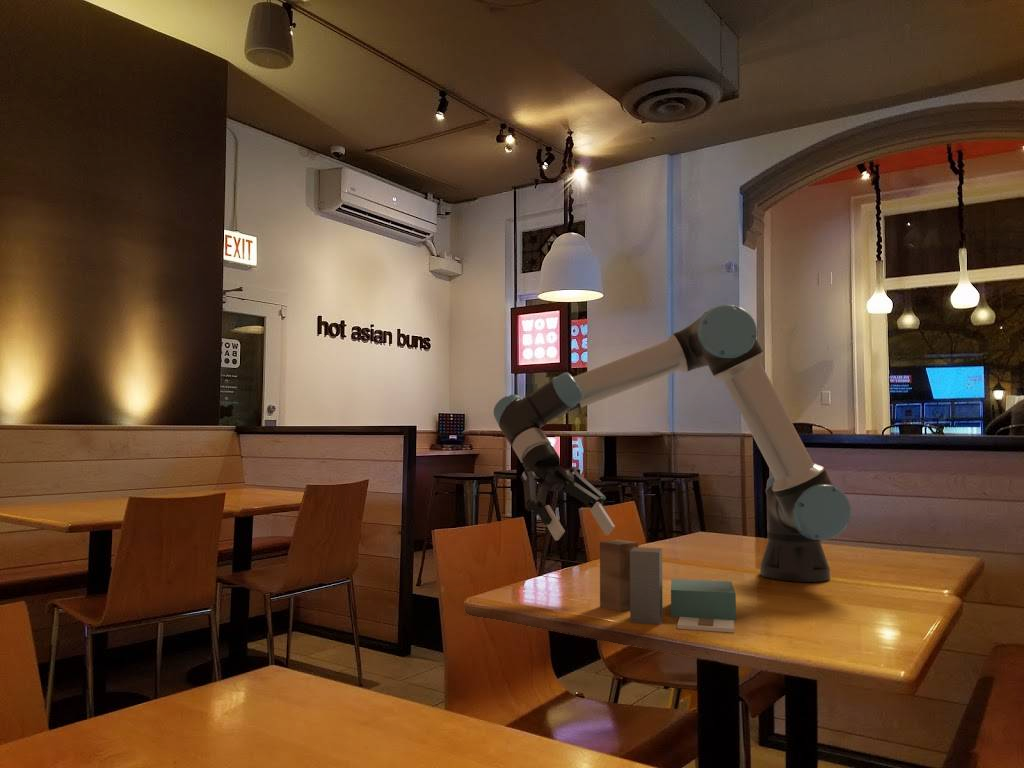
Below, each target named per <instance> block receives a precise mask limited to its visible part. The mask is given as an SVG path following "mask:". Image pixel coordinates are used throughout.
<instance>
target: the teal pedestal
mask: <svg viewBox="0 0 1024 768" xmlns="http://www.w3.org/2000/svg"><path fill="white" fill-rule="evenodd" d="M670 582H671V584H670V617H671V618H678V619H679V618H680V617H691V618H707V619H720V620H734V622H736V621H737V601H736V599H737V598H736V590H735V588H734V584H733V582H732V581H729V580H705V579H686V578H685V579H681V578H679V579H678V578H671V581H670Z"/></svg>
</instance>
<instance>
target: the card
mask: <svg viewBox="0 0 1024 768" xmlns="http://www.w3.org/2000/svg"><path fill="white" fill-rule="evenodd" d="M676 628H677V629H680V630H693V631H705V632H706V631H708V632H716V633H717V632H719V633H731V634H732V633H733V634H735V621H734V620H720V619H707V618H691V617H680V618H679V617H678V622H677V627H676Z"/></svg>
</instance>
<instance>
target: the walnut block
mask: <svg viewBox="0 0 1024 768" xmlns="http://www.w3.org/2000/svg"><path fill="white" fill-rule="evenodd" d="M633 547H639V542H637V541H630V540H624V539H612V540H603V541H602V540H601V541H599V607H600V608H604V609H607V610H612V611H616V612H624V611H625V612H626V611H630V551H631V549H632V548H633Z"/></svg>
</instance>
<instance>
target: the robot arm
mask: <svg viewBox="0 0 1024 768" xmlns="http://www.w3.org/2000/svg"><path fill="white" fill-rule="evenodd" d="M757 330H758V327H757V324H756V322H755V320H754V318H753V316H752V315H751V313H749V312H748V311H747V310H745V309H744V308H742V307H740V306H737V305H733V304H722V305H721V304H720V305H718V306H715V307H713V308H710V309H709V310H706V311H705V312H704V313H703V314H702V315H701V316H700V317H699V318H698V319H696V320H695V321H694V322H692V323H691V324H689V325H688V326H686V327H685V328H683V329H681V330H679V331H677V332H673V333H672V334H670V335H669V337H668V339H667V340H665V341H663V342H660V343H658V344H655V345H652V346H650V347H646V348H645V349H642V350H639V351H637V352H634V353H632V354H629V355H627V356H623V357H622V358H618V359H616V360H613V361H611V362H609V363H605V364H604V365H601V366H598V367H595V368H593V369H591V370H587V371H585V372H582V373H580V374H577V375H574V376H572V374H570V372H568V371H567V372H563V373H560V375H558V376H554V377H553V378H552V379H551V380H549V381H547V382H546V383H544V384H543V385H541V386H540V387H539V388H538V389H536V390H535V391H533V392H532V393H530V394H529V395H527V396H525V397H523V398H522V397H521V396H520V395H518V394H510V395H508V396H507V395H506V396H504V397H502V398H501V399H499V400H498V401H497V403H496V404H495V405H494V408H493V417H494V419H495V421H496V423H497V425H498V427H499V428H500V430H501V432H502V433H503V435H504V437H505V438H506V440H507V441H508V443H509V445H510V446H511V448H512V450H513V451H514V453H515V455H516V456H517V457H518V459H519V461H520V463H522V466H523V468H524V470H523V472H522V474H521V475H520V477H519V478H520V480H521V482H522V484H523V492H524V493H523V494H524V495H523V496H524V508H525V509H524V510H525V511H527V512H531V511H532V512H531V514H532V515H533V516H534V517H539V518H540V520H541V522H542V524H544V525H545V526H546V528H548V531H549V532H550V534H551V536H552V538H553V539H554V541H559V540H560V539H561V538H562V537H563V535H564V534H565V532H566V530H565V528H564V527H563V525H562V524H561V521H559V519H558V517H557V516H556V515H557V514H555V512H554V510H553V509H552V507H551V505H550V504H546V501H547V497H548V493H549V492H553V491H557V492H558V491H561V492H562V493H565V494H570V496H572V497H573V498H576V499H577V500H578V501H580V502H581V503H583V504H585V505H586V506H588V507H589V508H590V510H589V511H590V513H591V515H592V517H593V518H594V519H595V521H596V522H597V524H598V526H599V527H600V529H601V530H602V531H603V534H604V535H605V536H609V535H610V534H611V533H612V532H613V530H615V528H616V525H615V524H614V522H613V521H612V519H611V517H610V516H609V513H608V512H607V510H606V508H605V507H604V505H603V503H604V502H605V500H606V499H607V497H606V496H605V495H604V494H603V493H602V492H601V491H600V490H599V489H597V488H596V487H595V486H594V485H592V484H591V483H590V482H589V481H588V480H587V479H586V478H584V477H583V475H581V474H580V473H579V472H578V470H577V469H576V468H575V467H574V466H571V467H570V469H568V470H565V469H564V468H563V467H562V465H561V458H560V455H559V453H557V451H556V449H555V448H554V447H553V445H552V444H551V443H552V442H550V440H549V438H548V437H547V435H546V433H545V432H544V431H543V429H542V427H544V426H546V425H547V424H548V423H549V422H551V421H553V420H555V419H556V418H560V417H563V416H564V415H566V414H568V413H571V412H574V411H577V410H579V409H581V408H584V407H586V406H589V405H592V404H595V403H596V402H599V401H602V400H605V399H607V398H610V397H612V396H615V395H618V394H620V393H624V392H625V391H628V390H631V389H634V388H636V387H639V386H643V384H647V383H649V382H652V381H655V380H658V379H659V378H662V377H665V376H667V375H670V374H672V373H675V372H678V371H680V372H683V373H688V372H690V371H693V370H695V369H700V368H703V367H707V366H708V368H709V370H710V372H711V374H712V376H713V377H714V378H716V379H718V380H722V381H723V382H724V383H725V385H726V387H727V389H728V391H729V393H730V395H731V397H732V399H733V400H734V401H733V402H734V403H735V405H736V407H737V409H738V410H739V412H740V415H741V416H742V418H743V420H744V422H745V423H746V426H747V428H748V429H749V432H750V433H751V436H752V437H753V439H754V441H755V443H756V445H757V448H758V449H759V451H760V453H761V454H762V457H763V458H764V460H765V462H766V464H767V466H768V468H769V471H770V472H771V474H772V476H770V477H768V479H767V480H766V488H765V494H766V524H767V525H766V528H767V531H766V533H767V542H766V545H765V548H764V552H763V555H762V558H761V561H760V566H759V567H760V568H759V571H760V572H759V574H760V576H762V577H765V578H768V579H772V580H779V581H787V582H798V583H799V582H800V583H802V582H803V583H814V582H815V583H817V582H818V583H819V582H825V581H829V580H831V568H830V566H829V563H828V560H827V557H826V554H825V551H824V548H823V546H822V541H826V540H831V539H833V538H835V537H838V536H839V535H840V534H842V533H843V532H844V531H845V529H846V528H847V526H848V524H849V522H850V519H851V515H852V508H851V504H850V501H849V498H848V496H847V495H846V494H845V493H844V492H843V490H841V489H840V488H839V487H836V486H835V485H834V484H833V482H832V480H831V479H830V477H829V474H828V472H827V471H826V469H825V467H824V466H822V465H820V464H818V463H815V462H813V460H812V458H811V456H810V454H809V453H808V451H807V448H806V447H805V444H804V443H803V441H802V439H801V436H800V435H799V434H798V431H797V429H796V428H795V426H794V424H793V422H792V420H791V417H790V416H789V414H788V413H787V410H786V409H785V407H784V405H783V402H782V401H781V399H780V397H779V395H778V393H777V392H776V389H775V388H774V385H773V383H772V382H771V379H770V378H769V376H768V374H767V372H766V370H765V368H764V367H763V365H762V364H763V363H762V360H763V357H764V350H763V349H762V347H761V345H760V343H759V341H758V340H757V336H758V335H757V334H758V331H757ZM535 482H536V483H537V484H538V487H537V494H536V483H535ZM567 482H568V483H567Z"/></svg>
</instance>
